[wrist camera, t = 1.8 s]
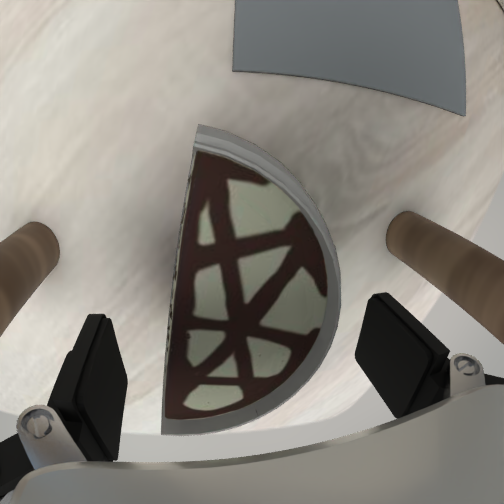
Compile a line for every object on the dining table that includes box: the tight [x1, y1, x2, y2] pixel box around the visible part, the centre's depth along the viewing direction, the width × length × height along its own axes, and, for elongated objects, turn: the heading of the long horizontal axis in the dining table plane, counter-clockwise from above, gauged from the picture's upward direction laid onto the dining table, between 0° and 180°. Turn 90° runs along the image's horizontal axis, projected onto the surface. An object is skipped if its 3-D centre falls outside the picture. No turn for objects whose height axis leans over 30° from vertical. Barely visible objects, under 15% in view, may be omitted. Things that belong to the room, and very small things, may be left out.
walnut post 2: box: [386, 211, 504, 344], centre depth 14 cm, size 4×4×14 cm
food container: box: [161, 124, 341, 436], centre depth 14 cm, size 12×6×10 cm, turn 167°
